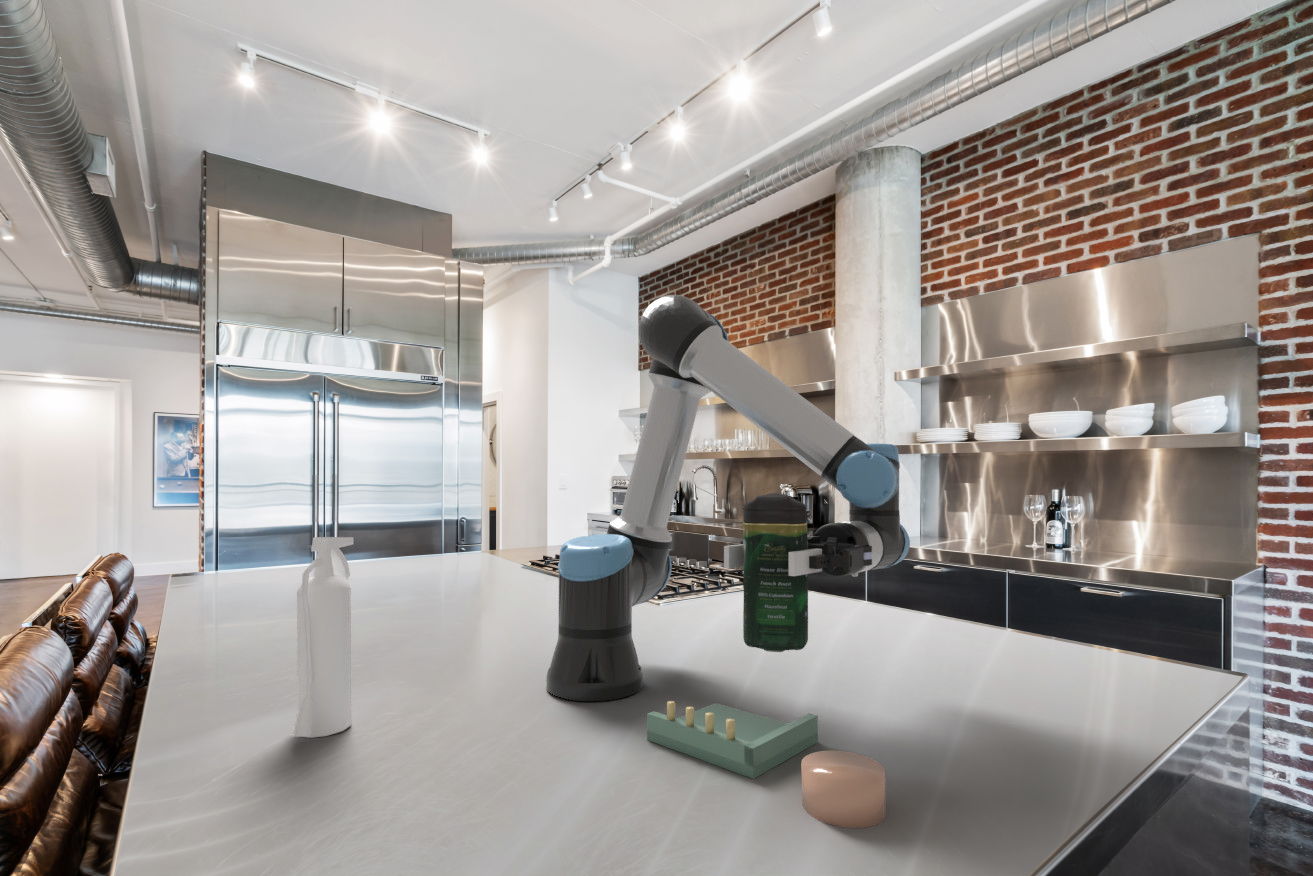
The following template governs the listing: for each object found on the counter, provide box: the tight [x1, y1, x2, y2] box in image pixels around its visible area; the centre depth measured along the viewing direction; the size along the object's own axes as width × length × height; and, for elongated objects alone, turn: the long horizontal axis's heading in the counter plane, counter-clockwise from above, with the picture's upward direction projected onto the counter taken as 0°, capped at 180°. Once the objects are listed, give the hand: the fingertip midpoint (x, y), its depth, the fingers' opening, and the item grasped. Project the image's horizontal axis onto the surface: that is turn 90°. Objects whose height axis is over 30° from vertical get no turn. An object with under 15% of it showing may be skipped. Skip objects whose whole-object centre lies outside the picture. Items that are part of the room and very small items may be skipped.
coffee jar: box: [742, 492, 809, 653], centre depth 81 cm, size 10×8×19 cm
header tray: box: [646, 700, 819, 779], centre depth 82 cm, size 16×14×5 cm
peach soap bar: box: [800, 750, 887, 829], centre depth 65 cm, size 8×8×4 cm
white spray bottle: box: [290, 536, 355, 739], centre depth 85 cm, size 7×12×25 cm, turn 176°
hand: (757, 560), depth 78 cm, fingers closed on coffee jar, 9 cm apart
